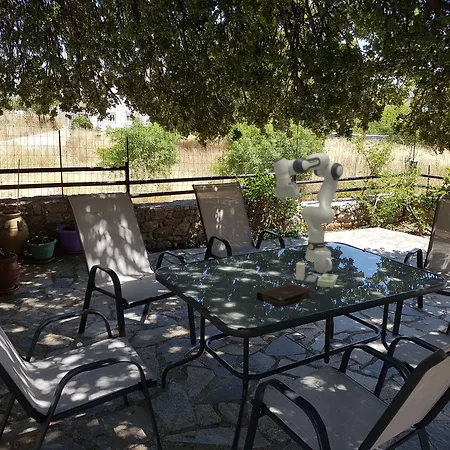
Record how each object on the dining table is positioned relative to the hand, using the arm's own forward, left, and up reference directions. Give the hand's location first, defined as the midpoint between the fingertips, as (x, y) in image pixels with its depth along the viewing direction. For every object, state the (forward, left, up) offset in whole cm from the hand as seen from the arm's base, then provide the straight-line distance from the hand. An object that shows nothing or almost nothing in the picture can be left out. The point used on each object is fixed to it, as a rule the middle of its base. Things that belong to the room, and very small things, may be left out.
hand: (289, 203), depth 288 cm
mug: (-14, +19, -45) cm, 51 cm away
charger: (+9, +19, -45) cm, 49 cm away
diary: (+43, +36, -45) cm, 72 cm away
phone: (+6, +25, -45) cm, 51 cm away
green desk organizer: (+1, +34, -45) cm, 56 cm away
